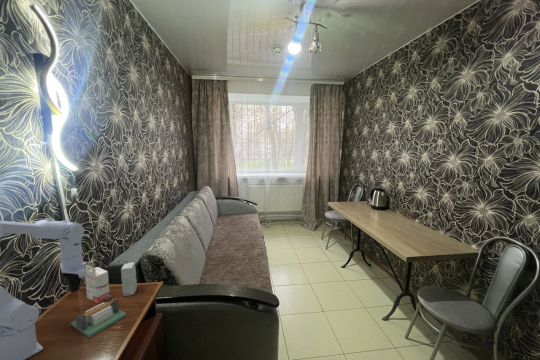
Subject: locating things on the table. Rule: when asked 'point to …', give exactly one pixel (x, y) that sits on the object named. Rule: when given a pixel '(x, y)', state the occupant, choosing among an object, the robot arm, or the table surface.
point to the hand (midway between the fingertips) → (74, 290)
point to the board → (101, 325)
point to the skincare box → (129, 279)
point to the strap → (98, 309)
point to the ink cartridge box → (97, 284)
